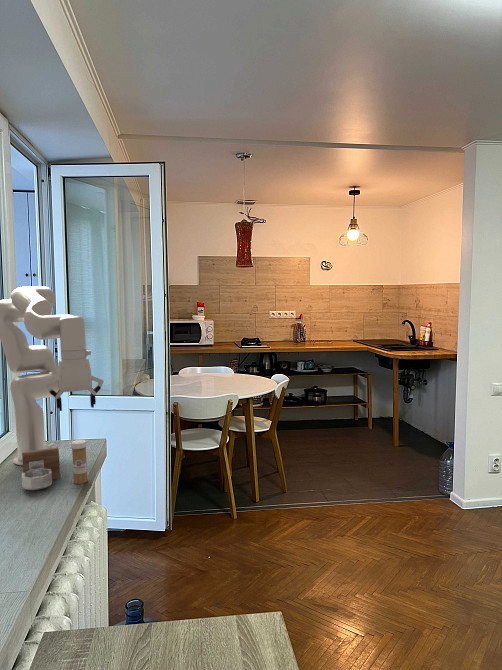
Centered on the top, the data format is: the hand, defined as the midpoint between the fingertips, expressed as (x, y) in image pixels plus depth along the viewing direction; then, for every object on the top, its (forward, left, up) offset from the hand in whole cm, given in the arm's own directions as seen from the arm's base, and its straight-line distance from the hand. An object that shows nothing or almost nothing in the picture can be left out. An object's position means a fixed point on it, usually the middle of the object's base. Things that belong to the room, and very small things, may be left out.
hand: (76, 408), depth 168 cm
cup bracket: (+9, -10, -23) cm, 27 cm away
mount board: (+2, -15, -24) cm, 28 cm away
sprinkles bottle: (0, 0, -24) cm, 24 cm away
